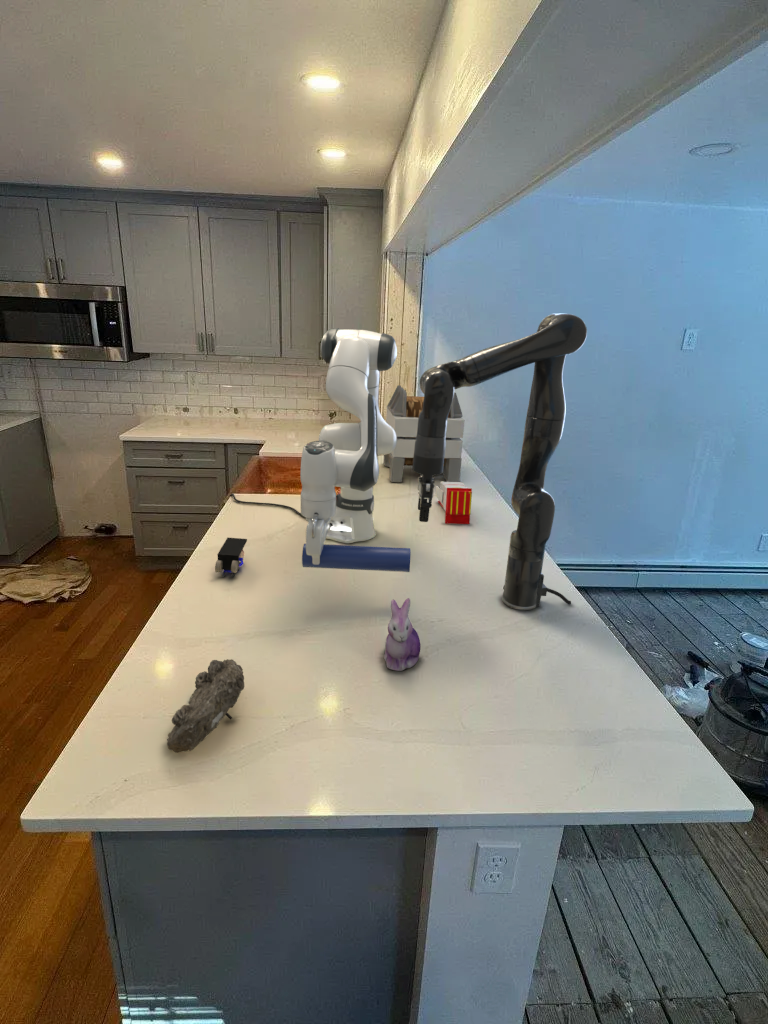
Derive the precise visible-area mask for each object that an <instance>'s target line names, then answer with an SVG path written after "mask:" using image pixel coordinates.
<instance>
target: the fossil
mask: <svg viewBox="0 0 768 1024" xmlns="http://www.w3.org/2000/svg"><path fill="white" fill-rule="evenodd" d="M243 670H244V669H243V667H242V665H240V664H237V662H236V661H235V660H234V659H232V658H231V659H227V658H226V659H224V660H223V661H222V660H217V659H212V660H211V661H210V663H209V665H208V666H207V671H201V672H199V673H198V674H197V675H196V676H195V680H194V684H195V685H194V687H195V689H194V690H193V693H192V694H191V697H190V698H189V700H188V704H184V705H182V706H181V707H180V709H177V710H176V711H175V713H174V715H173V716H172V718H171V723H172V724H173V727H172V730H171V731H170V732H168V734H167V738H166V741H167V742H166V745H167V749H168V750H169V751H173V752H174V753H176V754H178V753H182V752H188V751H189V752H192V751H193V750H195V748H196V747H197V746H199V744H200V743H201V742H203V741H204V740H205V739H206V738H207V737H208V736H209V735H210V734H211V733H212V732H214V730H215V729H217V727H218V726H219V724H220V722H221V721H222V720H223V719H224V718H225V716H226V717H227V719H229V720H233V717H232V715H230V714H229V710H230V709H231V708H234V706H235V704H236V703H237V702H238V699H239V697H240V695H241V693H242V691H243V690H245V689H244V688H245V675H244V671H243Z"/></svg>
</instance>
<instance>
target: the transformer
mask: <svg viewBox="0 0 768 1024" xmlns="http://www.w3.org/2000/svg"><path fill="white" fill-rule="evenodd" d="M407 394H408V393H407V390H406V389H404V388H403V387H402V385H399V384H398V385H397V386H396V388H395V390H394V392H393V394H392V395H391V398H390V400H389V402H388V404H387V405H386V413H385V414H386V415H385V421H386V422H387V423H388V424H389V425H390V426H391V427H392V428H393V429H394V431H395V433H396V436H397V443H396V446H395V448H394V450H393V451H392V452H391V453H390V454H386V455H383V466H384V467H388V468H389V475H388V476H389V477H388V478H389V480H390V482H391V483H402V482H403V475H404V469H405V466H406V467H407V466H411V467H413V457H414V446H415V440H416V436H417V426H418V418H419V414H420V412H421V411H422V410H423V402H424V396H415V395H414V396H413V395H412V396H411V395H407ZM464 429H465V419H464V418H463V411H462V408H461V405H460V402H459V398H458V395H457V392H455V391H454V396H453V401H452V404H451V408H450V412H449V415H448V419H447V430H446V448H445V457H444V465H443V472H442V473H441V474H440V475H443V478H444V479H445V482H461V472H462V461H463V460H462V453H463V442H464V441H463V440H462V439H463V438H464V431H465V430H464Z"/></svg>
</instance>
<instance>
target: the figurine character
mask: <svg viewBox="0 0 768 1024" xmlns="http://www.w3.org/2000/svg"><path fill="white" fill-rule="evenodd" d="M247 542H248V538H240V537H226V539H225V541H224V543H223V544H222V546H221V547H220V549H219V551H218V552H217V560H216V562H215V564H214V572H215V573H221V577H222V578H224V577H225V576H226V574H227V573H230V574H231V573H232V574H231V578H234V577H235V575H236V573H237V572H239V571H240V567H242V566H243V565H244V564H245V562H244V558H245V551H244V547H245V546H246V544H247Z"/></svg>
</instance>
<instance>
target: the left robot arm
mask: <svg viewBox="0 0 768 1024" xmlns="http://www.w3.org/2000/svg"><path fill="white" fill-rule="evenodd" d="M320 353H321V358H322V360H323V361H324V362H325V363H326V364H328V368H327V373H326V378H325V392H326V394H327V397H328V398H329V400H330V401H331V402H332V403H333V404H334V405H336V406H337V407H338V408H340V409H341V410H343V411H346V412H347V413H349V414H351V415H353V416H354V417H356V418H358V419H359V420H360V422H335V423H330V424H326V425H323V427H322V428H321V430H320V432H319V435H318V440H314V441H310V442H307V443H306V444H305V445H303V447H302V448H303V449H302V452H301V458H300V470H299V471H300V474H299V475H300V478H299V479H300V483H301V491H300V512H299V510H297V509H296V508H294V507H292V506H288V505H284V504H279V503H270V502H257V501H244V500H239V499H237V498H236V496H235V493H233V492H232V493H230V495H229V497H232V498H233V500H234V501H235V502H236V503H240V504H249V505H261V506H275V507H282V508H286V509H289V510H292V511H293V512H294V513H296V514H297V515H299V516H301V518H303V519H305V521H306V522H307V524H306V531H305V543H306V554H307V555H310V556H312V563H313V564H314V565H319V563H320V555H321V552H322V549H323V545H324V544H325V543H326V540H330V541H336V542H339V543H343V544H352V543H357V542H365V541H368V540H372V539H373V538H375V537H376V535H377V532H376V528H375V523H374V513H373V512H374V509H375V496H374V486H376V485H377V483H378V479H379V476H380V466H379V465H380V464H379V458H378V457H380V456H384V455H386V454H390V453H391V452H392V451H393V450H394V448H395V446H396V443H397V436H396V433H395V431H394V429H393V428H392V427H391V426H390V425H389V424H388V423H387V422H386V419H384V417H383V416H382V414H381V411H380V406H379V396H380V395H379V392H380V377H381V376H380V375H381V374H380V373H381V372H384V371H388V370H390V369H391V368H393V366H394V364H395V362H396V360H397V355H398V347H397V344H396V339H395V338H394V336H393V335H390V334H388V333H385V332H382V333H380V332H376V331H372V330H367V329H352V328H351V329H350V328H349V329H348V328H347V329H344V328H343V329H340V328H339V327H338V328H329V329H328V330H326V332H325V333H324V334H323V336H322V338H321V342H320ZM336 487H337V488H339V489H340V490H339V491H338V492H336Z"/></svg>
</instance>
